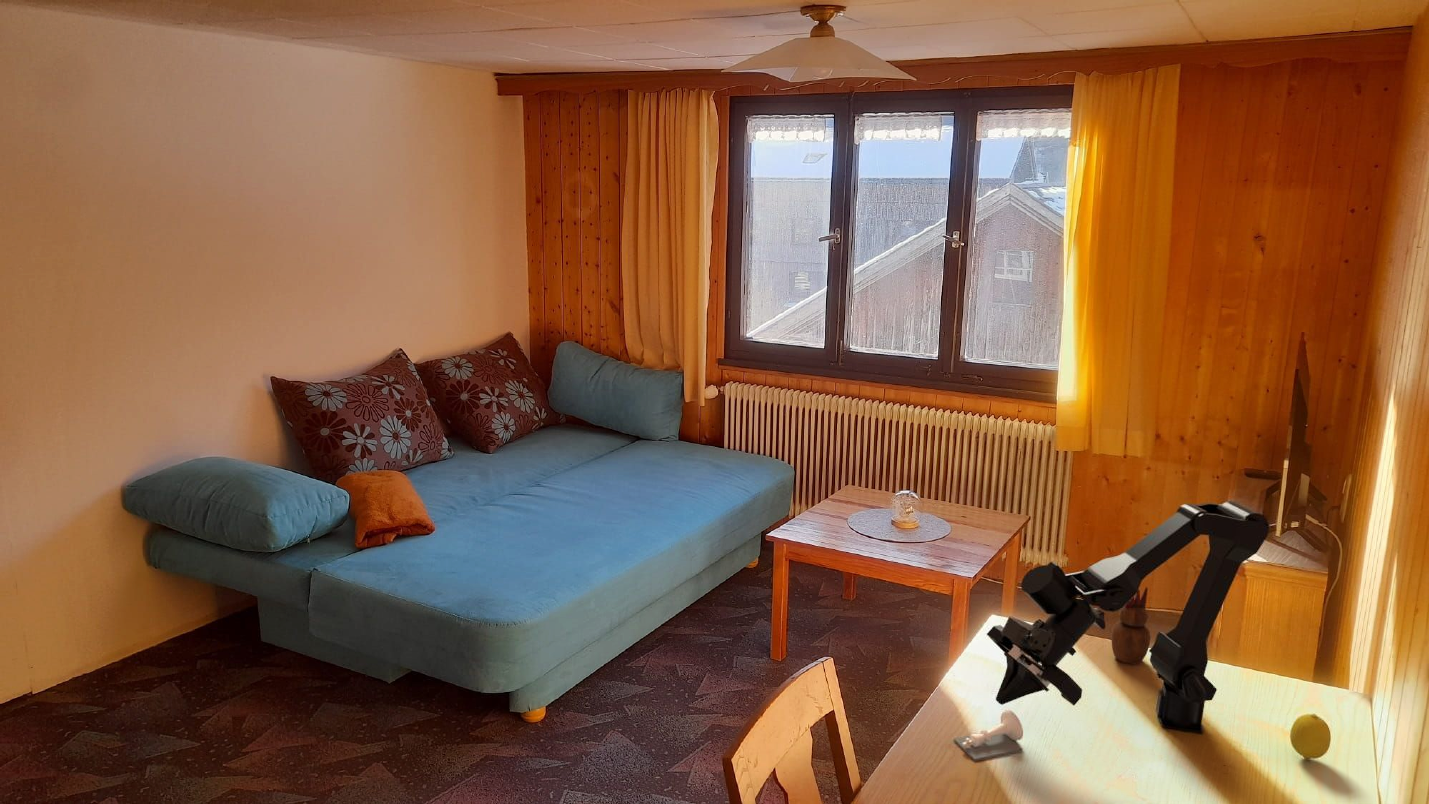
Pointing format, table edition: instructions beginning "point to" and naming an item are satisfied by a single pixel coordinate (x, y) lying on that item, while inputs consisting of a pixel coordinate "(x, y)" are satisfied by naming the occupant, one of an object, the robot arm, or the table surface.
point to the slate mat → (990, 747)
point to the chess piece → (999, 730)
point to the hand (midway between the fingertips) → (998, 702)
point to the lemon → (1310, 736)
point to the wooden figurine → (1132, 631)
